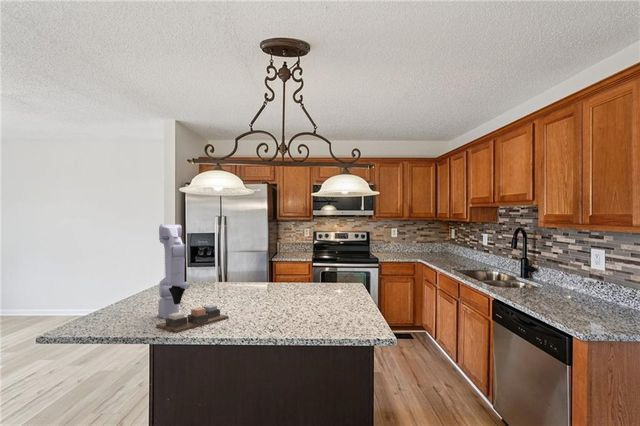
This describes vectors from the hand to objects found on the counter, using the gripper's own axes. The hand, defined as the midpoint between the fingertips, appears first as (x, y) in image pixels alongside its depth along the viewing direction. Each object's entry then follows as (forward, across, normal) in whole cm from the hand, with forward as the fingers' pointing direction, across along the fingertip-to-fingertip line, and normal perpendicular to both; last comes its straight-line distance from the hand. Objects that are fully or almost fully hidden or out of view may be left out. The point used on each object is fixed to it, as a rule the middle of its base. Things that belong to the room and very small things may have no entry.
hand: (177, 303), depth 165 cm
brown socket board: (+10, 0, +9) cm, 13 cm away
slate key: (+8, 0, +18) cm, 19 cm away
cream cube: (+8, 0, 0) cm, 8 cm away
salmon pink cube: (+7, +3, +9) cm, 12 cm away
